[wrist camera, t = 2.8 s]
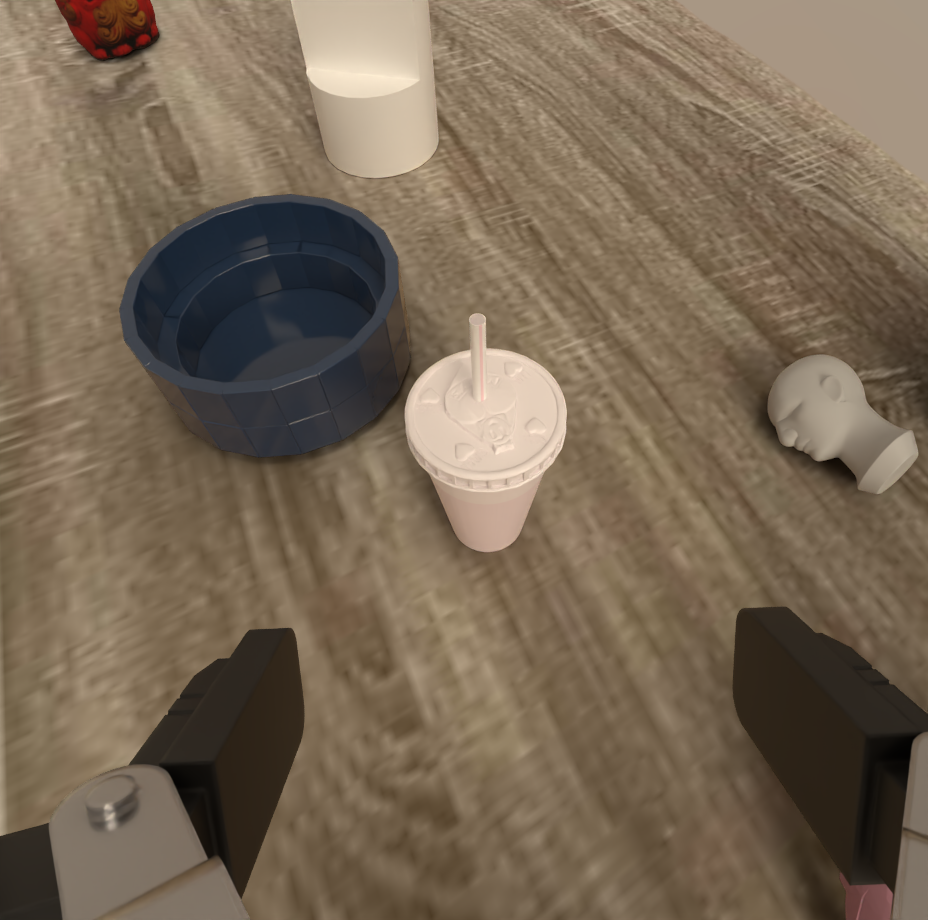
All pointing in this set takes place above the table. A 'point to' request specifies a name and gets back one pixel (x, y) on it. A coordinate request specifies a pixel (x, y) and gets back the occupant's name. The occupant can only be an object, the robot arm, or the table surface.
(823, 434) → the white head bust
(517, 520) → the smoothie
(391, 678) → the table surface
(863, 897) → the video game controller
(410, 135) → the base with upright slab
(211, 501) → the table surface
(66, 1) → the red clay folk toy
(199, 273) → the bowl
